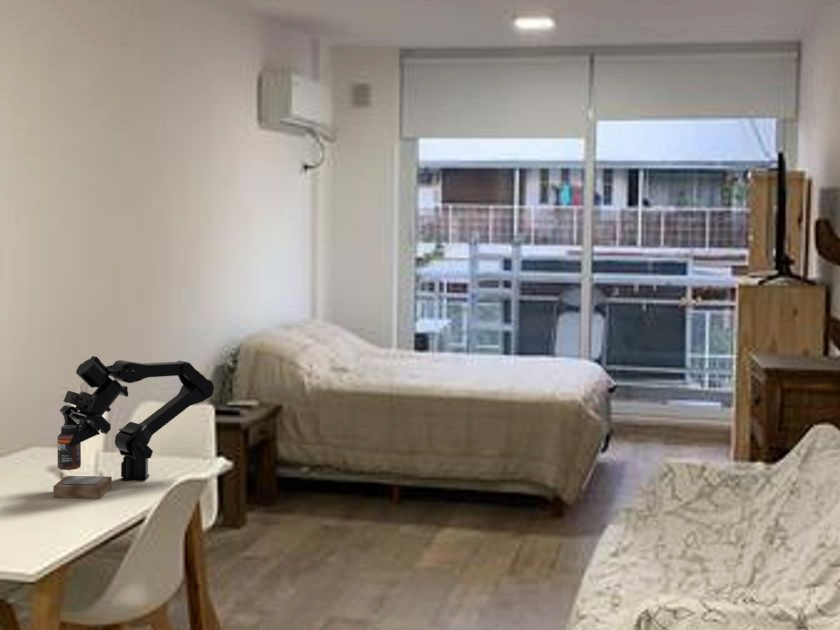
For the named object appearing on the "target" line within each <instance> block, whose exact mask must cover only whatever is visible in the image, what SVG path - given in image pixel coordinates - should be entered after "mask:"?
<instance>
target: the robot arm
mask: <svg viewBox="0 0 840 630" xmlns="http://www.w3.org/2000/svg"><path fill="white" fill-rule="evenodd" d="M75 374H76V375H78V377H79V378H80V379H81V380H82V381H83V382H84V383H85V384H87V386H89V387H90V388H91V389H93V388H96V389H95V390H94V391H93V392H92V393H88V392H86V391H83V390H82V391H81V392H80V393H78V392H76V391H75V392H74V391H72V390H67V392H66V394H65V397H64V399H63V401H62V402H63V403H66V404H65V405H63V406H62V407H61V408H60V409H59V412H60V413H61V414H62V415H63V418H64V424H63V426H64V425H75V426H77V432H76V434H75V435H74V437H73V438H72V439H71V441H70V443H69V445H70V446H71V447H73V446H75V445H77V444H79V443H82V442H84V441H87V440H89V439H91V438H94V437H96V436H99V435H101V434H104V435H107V434H108V433H109V432H110V431H111V429H112V428H111V427H112V425H111V423H110V422H109V421H108V420H107V419H106V418H105V417H104V416H103V415H104V414H105V413H106V412H107V413H110V412H111V410H112V408H110V407H111V406H112V405H113V403H114V402H115V400H117V399H118V398H119V396H123V397H125V398H126V397H129V391H128V388H129V387H128V386H127V385H122V384H121V383H120V382H123V383H126V384H133V383H137V382H140V381H143V380H145V379H148V378H158V377H159V378H162V377H174V376H177V377H178V380H179V381H180V383H181V384H182V386H181V387H180V389H179V392H178V393H177V394H176V395H175V396H174V397H173V398H172V399H169V401H167V402H166V403H165V404H164V405H162V406H160V407H159V408H158V409H157V410H156V411H154V412H153V413H152V414H151V415H149V416H148V417H146V418H145V419H144V420H142V421H141V422H139V423H136V422H133V421H129V422H128V423H127V424H125V426H123V427H122V428H118V432H117V434H116V435H115V439H114V444H115V447H116V449H118V451H119V454H120V455H121V456H123V458H122V459H123V460H122V462H121V465H120V477H121V481H129V482H130V481H135V482H136V481H138V482H139V481H140V482H143V481H144V482H145V481H146V480H147V479H148V478H149V477H150V474H149V459H151V458H152V456H153V452H154V451H153V449H152V448H151V447H150V446H149V443H150V441H151V439H152V437H153V435H154V434H156V433H157V432H159V431H160V430H161V429H162V428H164V427H165V426H166V425H167V424H168V423H170V422H172V421H173V420H174V419H175V418H176V417H178V416H179V415H180V414H181V413H182V412H184V411H185V410H187V409H188V408H189V407H191V406H194V405H197V404H199V403H203V402H204V401H207V400H209V399H210V398H212V396H213V395H214V390H215V386H214V383H213V382H212V380H210V379H207V377H205V376H204V375H203V374H202V373H201V372H200V371H198V370H197V369H196V368H195V367H194V366H193V365H192V364H191V363H190V362H188V361H183V360H177V361H165V362H164V361H163V362H147V363H146V362H145V363H143V362H135V361H129V360H124V359H123V360H121V359H118V360H115V361H114V363H113V364H112V365H111V364H110V365H105V364H104V363H103V362H102V361H101V360H100V358H99V357H98V356H94V355H92V356H91V357H90V358H89V359H86V360H85V361H84V362H82V363H80V364H79V365H78V367H77V368H76V372H75ZM111 377H112V378H113V379H112V378H111ZM69 404H71V405H69Z"/></svg>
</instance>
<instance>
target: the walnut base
mask: <svg viewBox="0 0 840 630" xmlns="http://www.w3.org/2000/svg"><path fill="white" fill-rule="evenodd" d="M112 481H113V480H112V476H108V475H107V476H102V475H100V476H99V475H97V476H96V475H95V476H94V475H65V476H64V477H63V478H62V479H60V480H59V481H58V482H57V483H55V485H53V487H52V488H53V496H52V497H53V498H57V499H58V498H59V499H102V498H103V497H104V495H105V494H107V493H108V492H109V491H110V490H111V489H112V488H113V487H112V486H113V485H112Z"/></svg>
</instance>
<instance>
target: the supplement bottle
mask: <svg viewBox="0 0 840 630" xmlns="http://www.w3.org/2000/svg"><path fill="white" fill-rule="evenodd" d="M76 432H77V426H75V425H64V424H63V425H62V426H60V434H58V436H57V443H56V444H57V468H58V469H59V470H64V471H71V470H77V469H80V468H81V467H82V451H81V450H82V449H81V447H82V444H81V443H82V442H81V443H79V444H77V445H75V446H73V447H71V446H70V445H69V443H70V441H71V439H72V438H73V437H74V435H75V434H76Z"/></svg>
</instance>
